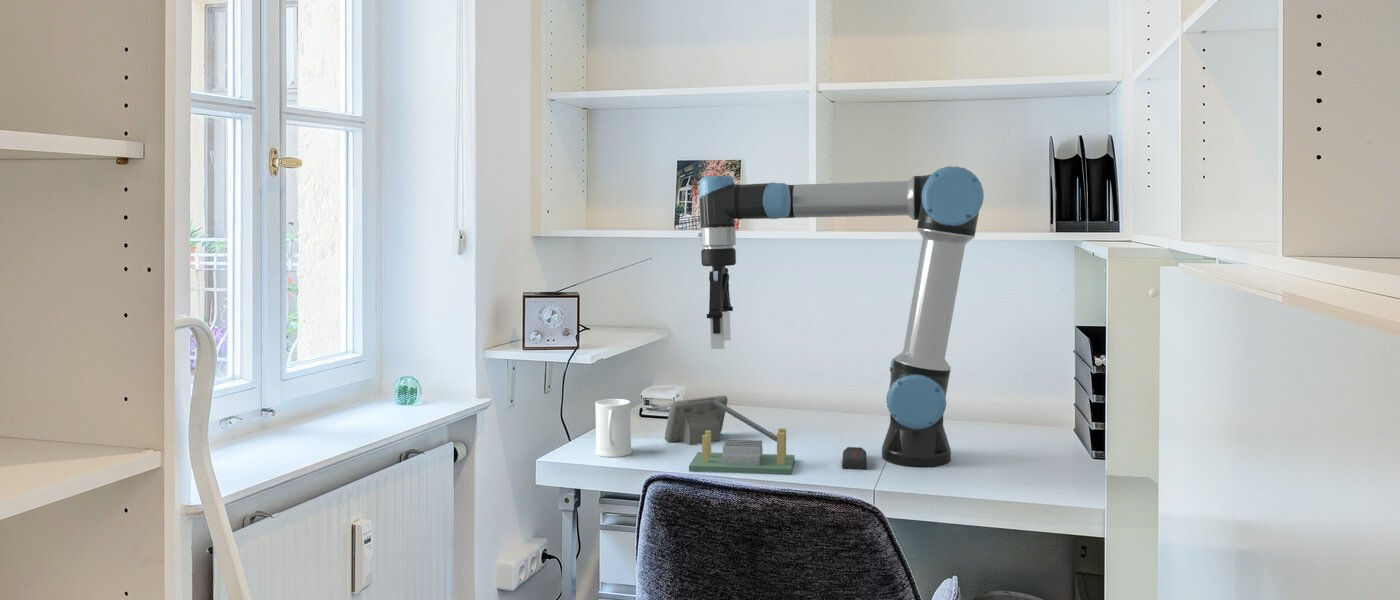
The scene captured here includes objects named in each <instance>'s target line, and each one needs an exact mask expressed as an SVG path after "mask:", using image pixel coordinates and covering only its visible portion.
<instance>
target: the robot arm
mask: <svg viewBox="0 0 1400 600" xmlns="http://www.w3.org/2000/svg"><path fill="white" fill-rule="evenodd" d="M698 200H699V201H698V202H699V212H700V213H699V216H700V217H699V219H700V232H698V234H697V237H699V238H701V239H700V245H701V247H703V249H701V251H700V255H701V256H700V257H701V259H700V260H701V265H702V266H703V267H712V269H711V270H710V271H709V277H708V280H709V301H708V302H709V303H708V305H709V307H708V308H709V309H708V313H706V319H709V321H710V323H709V324H710V326H709V327H710V349H711V350H722V349H723V350H724V349H725V341H726V342H727V341H731V312H733V310H734V307H733V305H732V304H731V297H730V296H731V295H730V283H729V280H730V273H729V269H728V267H727V266H731V267H732V266H735V265H736V263H737V253H736V252H737V251H736V250H737V249H736V248H734V246H735V245H736V244H737V243H736V242H737V241H736V240H737V239H736V220H761V219H762V220H766V219H769V220H777V219H795V218H796V219H797V218H799V219H801V218H803V219H804V218H805V219H806V218H841V217H842V218H843V217H844V218H846V217H847V218H849V217H852V218H853V217H892V216H893V217H896V216H898V217H900V216H901V217H902V216H908V217H909V218H911V220H913V221H915V220H916V221H917V225H916V226H917V227H916V229H917V231H918V233H919V234H920V236H921V237H922V241H921V247H920V252H919V259H918V264H917V271H916V276H915V280H914V281H915V283H914V288H913V293H912V297H911V298H912V299H911V304H910V308H909V309H910V310H909V316H908V322H907V327H906V333H905V339H904V345H903V350H902V351H901V352H900V353H898V354H897V355H896V356H894V357H893V358H892V359H891V361H890V367H889V371H890V382H889V388H888V390H887V393H886V400H885V401H886V406H887V409H888V411H889V414H890V415H889V416H890V418H889V419H890V420H889V427H888V428H887V433H886V434H885V438H884V441H883V443H882V446H881V457H882V459H884V460H885V461H886V462H889V463H892V464H896V465H900V466H910V467H936V466H942V465H945V464H948V463H950V462H951V460H952V459H951V458H952V449H951V446H950V443H949V440H948V437H947V433H946V430H945V426H944V414H945V411H946V409H947V400H946V399H947V397H946V396H947V392H948V385H949V379H950V375H951V374H950V373H951V371H952V370H951V368H952V367H951V365H950V364H949V362H948V361H947V360H946V354H947V349H948V343H949V337H950V331H951V327H952V319H953V317H954V316H953V314H954V309H955V304H956V300H957V299H956V298H957V293H958V289H959V288H958V287H959V281H960V276H961V272H962V271H961V270H962V265H963V260H964V253H965V249H966V245H967V244H968V243H969V242H970V241H972V240H973V239H974V238H975V236H976V229H977V226H978V225H977V224H978V220H979V215H980V210H981V208H982V206H983V203H984V188H983V185H982V182H981V181H980V179H979V178H978V177H977V175H976V174H974V173H973V172H972V171H971V170H969V169H967V168H966V167H960V166H950V165H949V166H944V167H941V168H939V169H937V170H935V171H934V172H933V173H932V174H926V175H912V176H911V177H910V178H909V179H908V180H896V181H895V180H892V181H867V182H866V181H865V182H839V183H838V182H837V183H836V182H834V183H833V182H831V183H807V184H806V183H804V184H802V183H801V184H787V183H785V182H767V183H766V182H765V183H764V182H763V183H750V184H741V183H740V184H737V183H735V181H734V176H731V175H709V176H703V177H701V179H700V181H699V197H698Z"/></svg>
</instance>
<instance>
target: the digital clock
mask: <svg viewBox="0 0 1400 600" xmlns="http://www.w3.org/2000/svg"><path fill="white" fill-rule="evenodd" d="M715 400H717V401H719V402H721V403H722V404H724V405H726V406H727V407H728V405H727V404H728V397H727V396H726V395H715V396H705V397H704V396H703V397H697V398H696V397H695V398H690V399H689V398H688V399H680V400H673V401H672V402H671V403H670V405H669V410H668V416H667V421H666V427H665V433H664V440H665V441H666V442H680V441H681V443H682V444H685V443H686V444H685V445H688V446H692V444H693V445H699V444H698V443H700V444H702V435H705V431H711V443H713V442H712V441H714V442H719V441H721V433H722V431H723V430H722V429H723V426H724V420H725V416H726V415H725V414H726V413H727V412H726V411H724V410H722V409H720V408H719V407H717V406H715V405H714V404H713V403H714V401H715Z"/></svg>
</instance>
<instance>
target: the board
mask: <svg viewBox="0 0 1400 600" xmlns="http://www.w3.org/2000/svg"><path fill="white" fill-rule="evenodd" d="M776 436H777V442H776V453H775V454H774V453H773V454H772V453H770V454H769V453H763V457H762V459H761V462H760V465H759V466H754V465H724V464H722V455H723V452H712V442H711V431H705V435H702V443H701V450H702V451H697V452H696V454H695V456H694V457H693V459H692V460H691V462H690V463H689V465H688V472H698V473H700V472H702V473H731V474H732V473H733V474H758V475H759V474H760V475H761V474H763V475H783V476H787V475H789V476H791V475H793V469H794V465H795V461H796V460H795V459H796V458H795V454H787V428H786V427H778V432H776Z"/></svg>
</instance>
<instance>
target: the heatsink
mask: <svg viewBox="0 0 1400 600" xmlns="http://www.w3.org/2000/svg"><path fill="white" fill-rule="evenodd" d="M725 440H726V441H725V442H724V444H723V446H722V453H723V455H722V464H724V465H754V466H759V465H760V462H761V459H762V457H763V454H764V452H763V451H764V450H763V440H758V439H731V438H730V439H728V438H727V439H725Z"/></svg>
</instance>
